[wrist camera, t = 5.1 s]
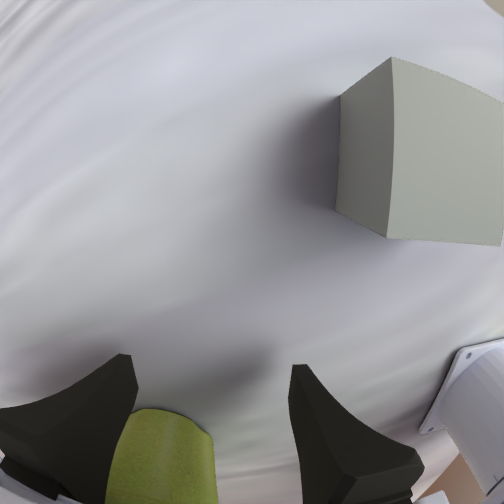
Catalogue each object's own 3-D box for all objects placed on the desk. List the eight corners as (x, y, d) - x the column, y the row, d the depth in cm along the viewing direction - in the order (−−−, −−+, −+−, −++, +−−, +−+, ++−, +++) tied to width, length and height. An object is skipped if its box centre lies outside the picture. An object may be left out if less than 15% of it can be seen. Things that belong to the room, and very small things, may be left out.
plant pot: (231, 477, 17) (228, 571, 9) (113, 453, 17) (83, 537, 8) (249, 402, 14) (250, 547, 6) (89, 370, 14) (22, 481, 6)
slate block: (434, 117, 11) (507, 105, 6) (429, 219, 12) (500, 246, 7) (339, 95, 10) (391, 56, 6) (334, 210, 12) (386, 238, 7)
